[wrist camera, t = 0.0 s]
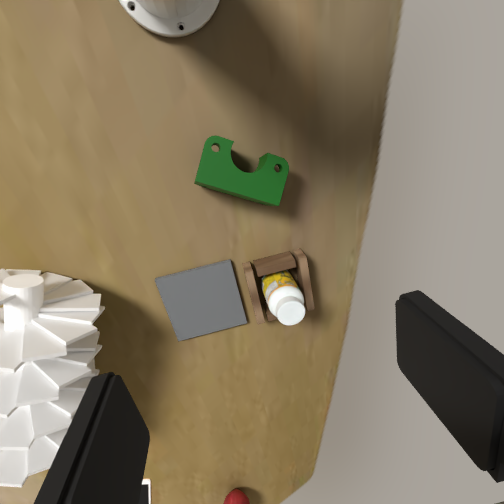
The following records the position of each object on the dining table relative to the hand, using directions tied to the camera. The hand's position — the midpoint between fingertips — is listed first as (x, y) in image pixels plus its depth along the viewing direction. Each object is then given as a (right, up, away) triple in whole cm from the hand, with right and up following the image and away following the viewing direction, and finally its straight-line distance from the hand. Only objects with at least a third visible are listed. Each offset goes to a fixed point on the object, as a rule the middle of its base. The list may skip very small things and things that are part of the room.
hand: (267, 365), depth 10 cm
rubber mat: (-9, -4, +41) cm, 42 cm away
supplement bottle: (+4, -1, +41) cm, 41 cm away
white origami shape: (-32, -8, +39) cm, 51 cm away
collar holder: (+4, -1, +41) cm, 41 cm away
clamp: (-2, +15, +34) cm, 37 cm away
